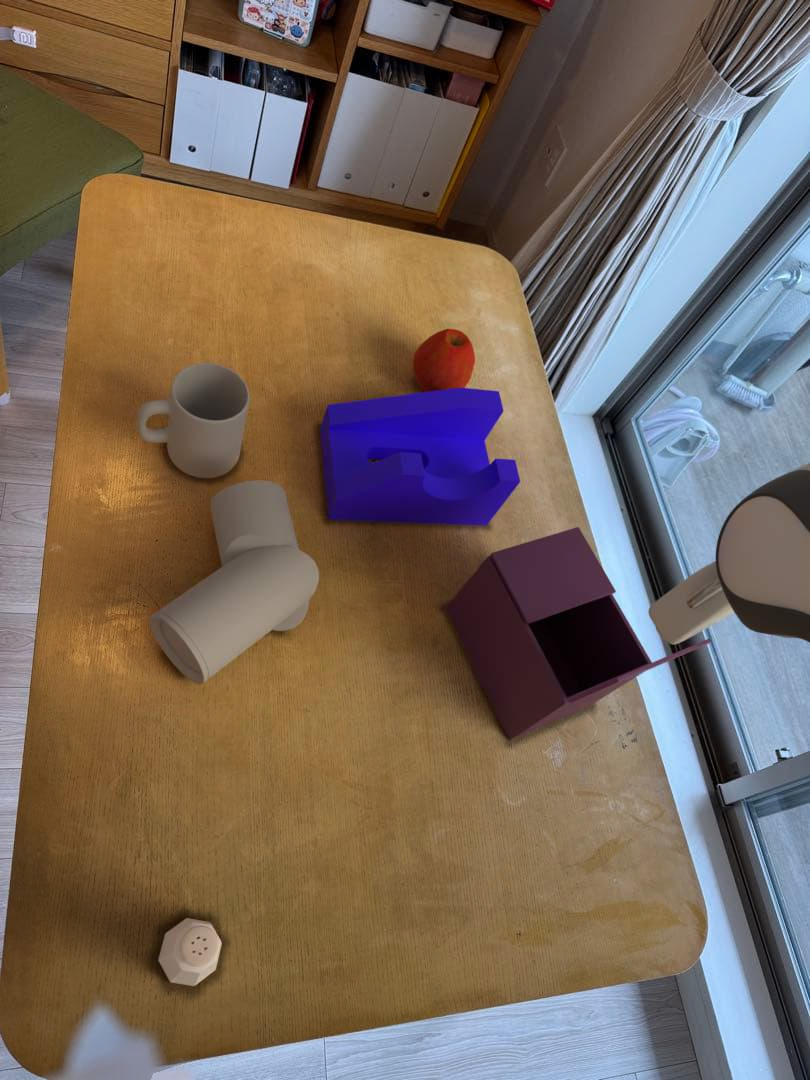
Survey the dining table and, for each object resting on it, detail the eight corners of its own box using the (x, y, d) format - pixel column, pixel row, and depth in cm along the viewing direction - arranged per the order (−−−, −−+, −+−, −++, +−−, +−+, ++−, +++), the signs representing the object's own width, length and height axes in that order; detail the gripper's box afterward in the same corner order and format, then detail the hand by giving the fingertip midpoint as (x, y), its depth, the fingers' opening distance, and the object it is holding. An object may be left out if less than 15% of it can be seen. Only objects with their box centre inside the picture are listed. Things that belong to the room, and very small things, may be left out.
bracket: (469, 439, 107) (498, 391, 98) (486, 525, 100) (520, 481, 92) (319, 428, 100) (337, 375, 91) (328, 519, 94) (348, 471, 85)
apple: (394, 385, 108) (417, 331, 99) (424, 355, 112) (449, 301, 103) (441, 420, 107) (469, 368, 98) (470, 388, 112) (499, 336, 103)
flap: (656, 662, 80) (658, 665, 80) (568, 699, 75) (570, 703, 75) (709, 638, 73) (712, 642, 73) (616, 677, 68) (618, 682, 68)
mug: (231, 419, 97) (242, 360, 88) (246, 476, 93) (258, 420, 84) (131, 425, 92) (131, 363, 83) (142, 485, 88) (143, 427, 79)
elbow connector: (337, 667, 83) (298, 508, 92) (338, 633, 74) (294, 460, 82) (170, 707, 80) (145, 539, 88) (149, 678, 71) (123, 493, 79)
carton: (590, 705, 92) (658, 663, 80) (509, 740, 87) (569, 701, 75) (524, 582, 98) (578, 525, 86) (444, 608, 92) (490, 552, 81)
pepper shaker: (154, 926, 68) (158, 916, 59) (217, 910, 70) (230, 898, 61) (161, 995, 66) (166, 996, 57) (226, 977, 68) (240, 975, 59)
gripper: (746, 618, 54) (641, 688, 65) (903, 531, 63) (787, 604, 74) (691, 545, 56) (599, 624, 67) (850, 471, 65) (746, 551, 77)
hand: (699, 613), depth 71 cm, fingers open, 8 cm apart
